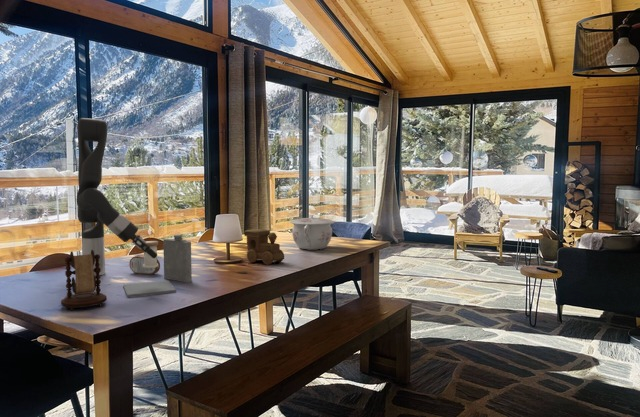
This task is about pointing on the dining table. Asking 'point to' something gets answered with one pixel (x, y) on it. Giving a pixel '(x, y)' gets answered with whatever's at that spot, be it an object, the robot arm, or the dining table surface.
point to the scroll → (83, 281)
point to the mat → (148, 288)
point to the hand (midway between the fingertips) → (155, 255)
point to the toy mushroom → (148, 260)
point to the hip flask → (177, 259)
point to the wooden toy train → (263, 246)
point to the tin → (137, 266)
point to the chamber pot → (312, 232)
